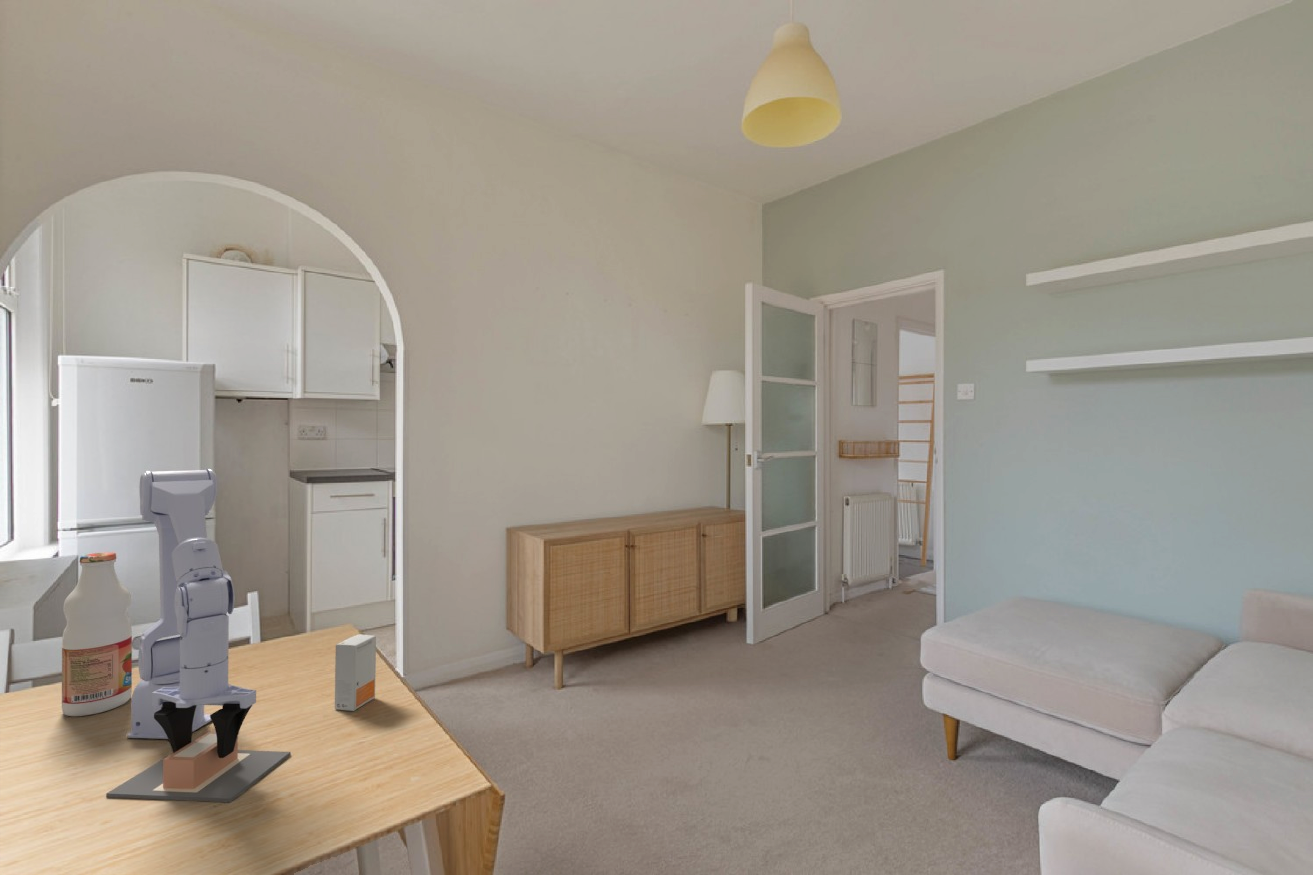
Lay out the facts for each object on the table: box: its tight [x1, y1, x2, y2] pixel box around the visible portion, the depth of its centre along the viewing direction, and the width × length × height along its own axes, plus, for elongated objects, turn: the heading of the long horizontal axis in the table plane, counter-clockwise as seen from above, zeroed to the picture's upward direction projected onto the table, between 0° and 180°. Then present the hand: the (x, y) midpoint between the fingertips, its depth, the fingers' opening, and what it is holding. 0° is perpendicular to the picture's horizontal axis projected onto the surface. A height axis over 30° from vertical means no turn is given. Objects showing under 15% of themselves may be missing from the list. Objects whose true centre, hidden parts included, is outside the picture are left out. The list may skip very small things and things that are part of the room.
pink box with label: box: [162, 730, 239, 789], centre depth 87 cm, size 8×4×4 cm, turn 177°
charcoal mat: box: [105, 749, 292, 803], centre depth 87 cm, size 18×12×1 cm, turn 87°
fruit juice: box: [61, 551, 133, 717], centre depth 109 cm, size 9×9×28 cm
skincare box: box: [334, 633, 377, 712], centre depth 110 cm, size 6×4×12 cm
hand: (204, 753), depth 87 cm, fingers open, 6 cm apart
